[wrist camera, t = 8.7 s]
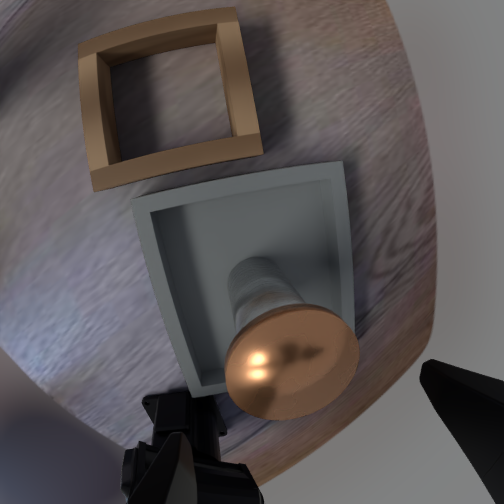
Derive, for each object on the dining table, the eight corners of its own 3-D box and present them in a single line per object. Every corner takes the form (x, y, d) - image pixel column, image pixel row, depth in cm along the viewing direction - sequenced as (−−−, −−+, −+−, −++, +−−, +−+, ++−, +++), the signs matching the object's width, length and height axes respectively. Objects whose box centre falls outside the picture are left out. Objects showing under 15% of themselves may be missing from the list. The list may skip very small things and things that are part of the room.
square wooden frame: (255, 156, 19) (263, 154, 16) (109, 189, 18) (93, 192, 15) (230, 26, 16) (235, 6, 13) (93, 58, 15) (78, 44, 12)
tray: (342, 342, 24) (354, 358, 21) (192, 378, 23) (192, 397, 20) (327, 161, 20) (342, 160, 17) (139, 196, 18) (130, 199, 16)
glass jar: (298, 310, 22) (357, 398, 12) (224, 327, 21) (241, 431, 11) (289, 237, 20) (360, 295, 10) (207, 254, 19) (210, 332, 10)
